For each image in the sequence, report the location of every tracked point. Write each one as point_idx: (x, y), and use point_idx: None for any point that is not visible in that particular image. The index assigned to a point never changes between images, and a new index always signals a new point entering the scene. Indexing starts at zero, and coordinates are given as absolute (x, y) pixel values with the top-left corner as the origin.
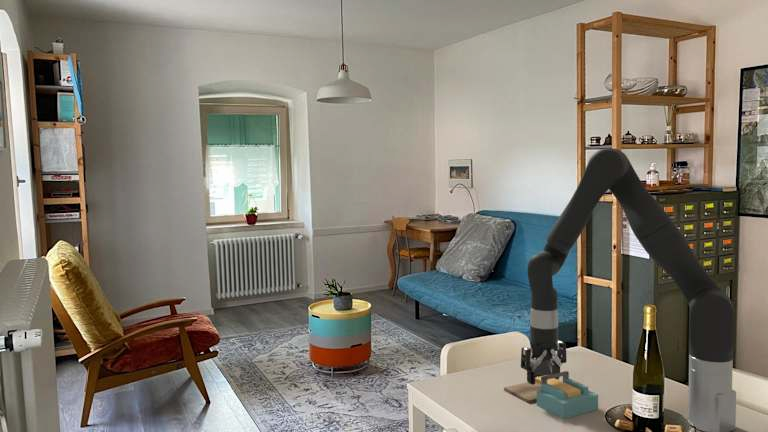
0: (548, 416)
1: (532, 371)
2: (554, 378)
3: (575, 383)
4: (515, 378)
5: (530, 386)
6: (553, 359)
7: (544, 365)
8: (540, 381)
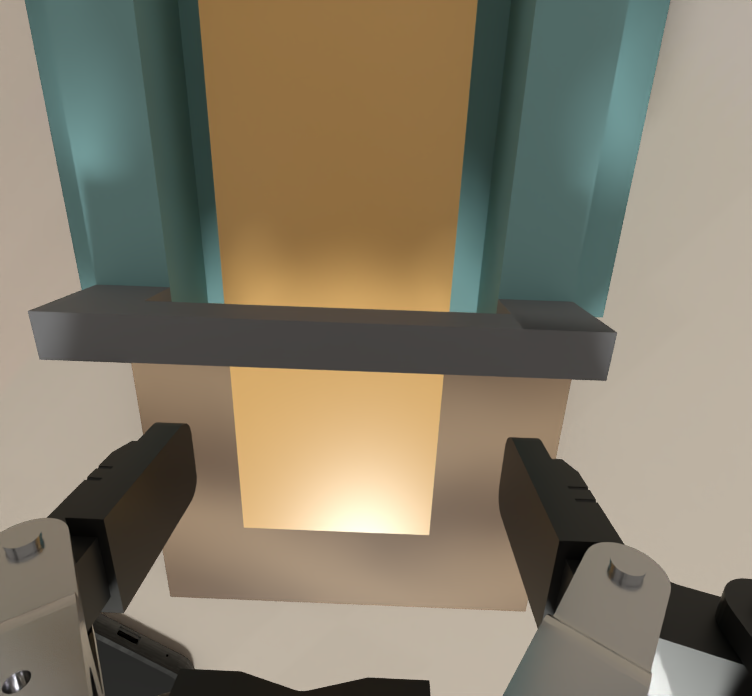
0: (672, 12)
1: (633, 550)
2: (239, 415)
3: (130, 48)
4: (305, 684)
5: (345, 542)
6: (91, 668)
7: None
8: (436, 439)
